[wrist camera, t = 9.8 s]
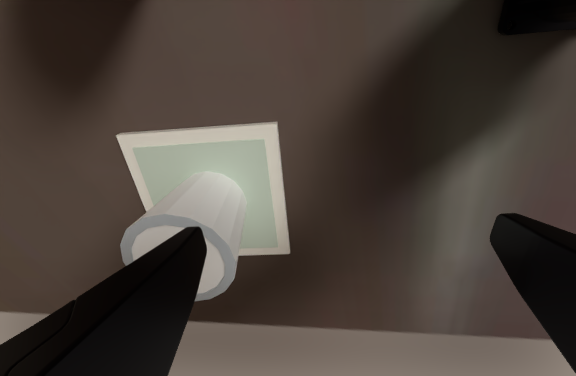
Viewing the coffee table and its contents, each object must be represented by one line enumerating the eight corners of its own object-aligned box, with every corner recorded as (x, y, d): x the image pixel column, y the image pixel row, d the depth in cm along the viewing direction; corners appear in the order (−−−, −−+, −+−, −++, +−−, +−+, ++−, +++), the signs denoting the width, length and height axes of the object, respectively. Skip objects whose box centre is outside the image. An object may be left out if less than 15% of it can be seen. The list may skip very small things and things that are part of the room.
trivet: (277, 121, 19) (276, 124, 19) (290, 249, 25) (289, 255, 24) (120, 133, 20) (114, 136, 19) (167, 253, 26) (163, 259, 25)
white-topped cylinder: (265, 181, 21) (250, 238, 14) (241, 245, 24) (220, 314, 18) (178, 151, 20) (122, 198, 14) (165, 221, 23) (115, 285, 17)
